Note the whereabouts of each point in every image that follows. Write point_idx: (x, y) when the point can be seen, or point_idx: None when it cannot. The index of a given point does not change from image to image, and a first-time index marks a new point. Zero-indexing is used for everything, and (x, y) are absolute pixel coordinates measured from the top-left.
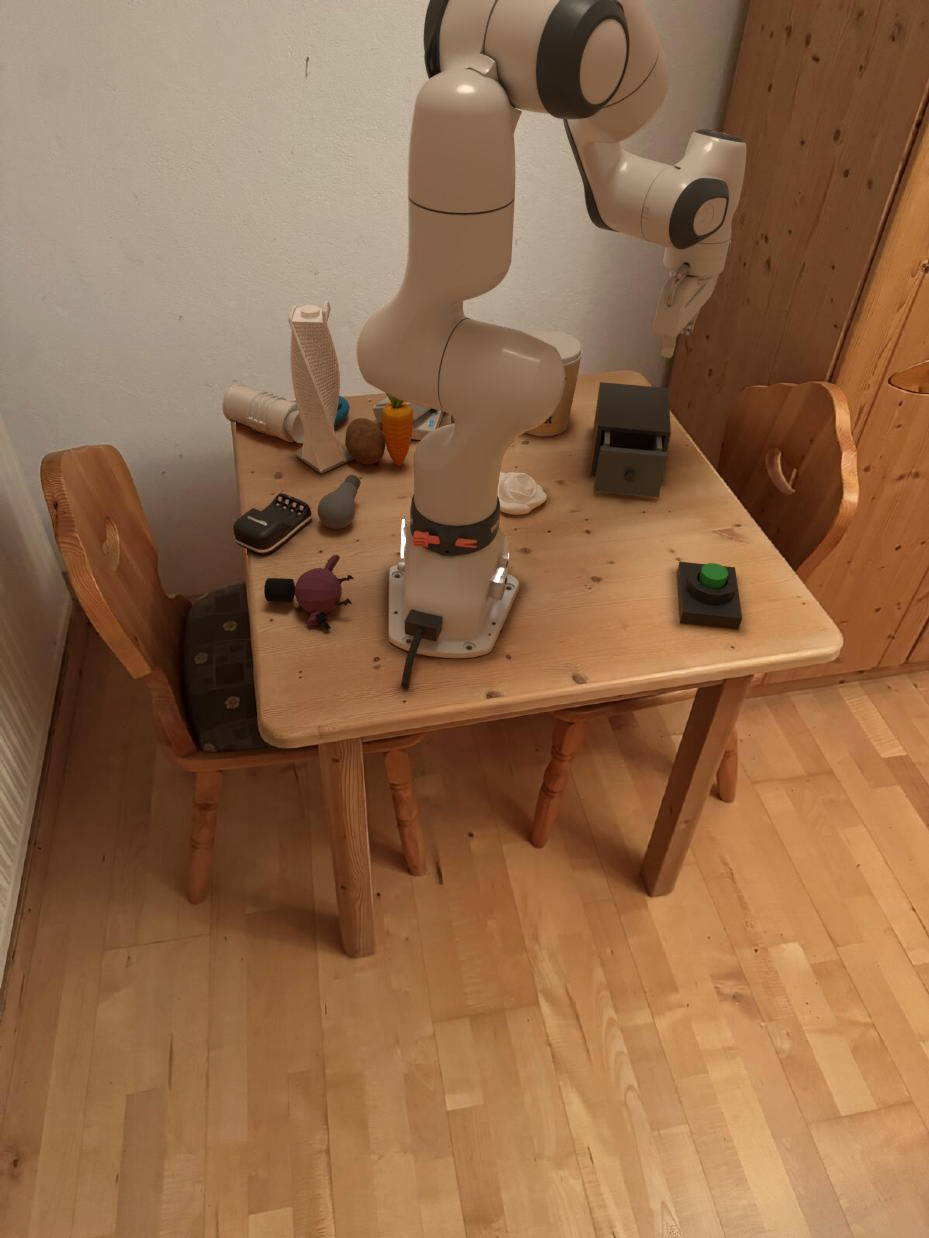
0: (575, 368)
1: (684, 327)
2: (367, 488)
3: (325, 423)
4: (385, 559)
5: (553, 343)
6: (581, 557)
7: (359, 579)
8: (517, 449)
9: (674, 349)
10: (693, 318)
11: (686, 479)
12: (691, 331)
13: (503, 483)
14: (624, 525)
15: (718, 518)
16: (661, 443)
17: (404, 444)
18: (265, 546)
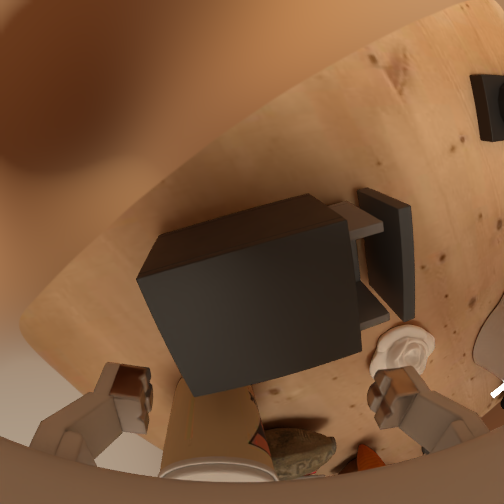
0: (228, 448)
1: (147, 410)
2: (396, 439)
3: None
4: (476, 381)
5: None
6: (477, 249)
7: (491, 379)
8: (294, 392)
9: (405, 382)
10: (97, 415)
11: (278, 152)
12: (128, 370)
13: (420, 374)
14: (424, 218)
15: (368, 87)
16: (366, 227)
17: (379, 460)
18: None
